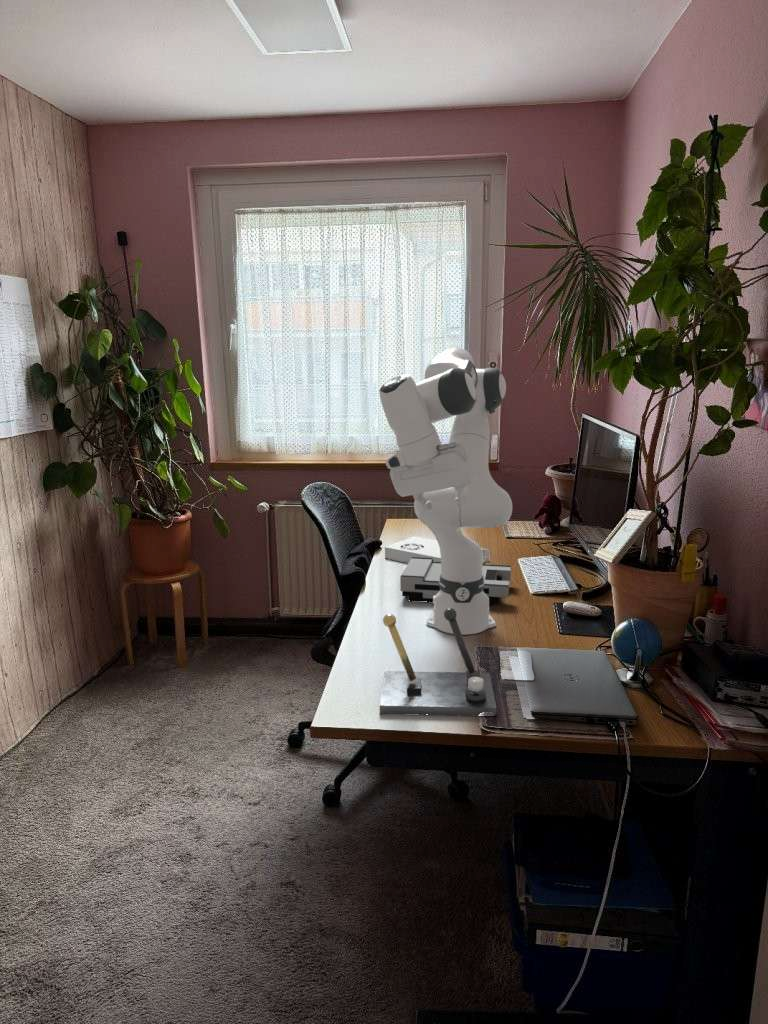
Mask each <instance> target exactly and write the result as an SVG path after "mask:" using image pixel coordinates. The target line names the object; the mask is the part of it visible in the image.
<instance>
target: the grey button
mask: <svg viewBox="0 0 768 1024" xmlns="http://www.w3.org/2000/svg"><path fill="white" fill-rule="evenodd" d="M483 683H484V680H483V679H482V678H480V677H471V678H469V679H468V689H469V690H470V691H474V692H479V691H482V690H483Z"/></svg>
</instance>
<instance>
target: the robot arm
mask: <svg viewBox="0 0 768 1024" xmlns="http://www.w3.org/2000/svg"><path fill="white" fill-rule="evenodd" d="M474 361H475V360H474V358H473V357H472V354H471V353H470V352H468V351H467V350H466V349H465V348H461V347H450V348H448V349H445V350H443V351H441V352H440V353H438V354H436V355H435V356H434V357H433V358H432V359H431V360H430V361H429V363H427V366H426V368H425V371H424V379H423V380H420V381H418V382H415V381H414V378H413V377H412V376H411V375H410V374H408V373H406V374H399V375H397V376H394V377H392V378H391V379H389V380H387V381H386V382H383V384H382V385H381V387H380V388H379V398H380V402H381V406H382V408H383V409H382V410H383V413H384V415H385V418H386V421H387V423H388V425H389V428H390V429H391V430H392V431H393V433H394V435H395V437H396V444H397V447H398V450H396V451H395V453H394V454H392V455H391V456H390V457H388V458H387V459H386V460H385V462H384V463H385V465H386V467H387V469H389V476H390V479H391V482H392V485H393V487H394V490H395V492H396V494H398V495H399V496H400V497H401V498H403V497H410V496H412V498H413V499H414V503H413V507H414V513H415V515H416V517H417V519H418V520H419V521H420V522H421V523H422V524H423V525H424V526H426V527H427V528H428V529H429V530H430V532H431V533H432V534H433V536H434V537H435V540H437V541H438V544H439V547H440V554H441V575H440V579H439V584H440V586H439V588H440V591H439V592H438V593H437V594H436V596H433V608H432V611H431V612H430V615H428V618H427V620H426V625H427V626H429V627H432V628H435V629H438V630H439V631H441V632H445V633H447V634H452V635H454V634H453V631H452V628H451V626H450V623H449V621H448V620H446V619H445V617H444V611H445V610H446V609H447V608H453V609H454V610H455V611H456V613H457V616H456V621H457V623H458V626H459V629H460V631H461V634H462V636H465V635H475V634H479V633H482V632H484V631H485V630H487V629H490V628H494V627H496V625H497V624H496V621H495V619H494V618H493V617H492V616H491V615H490V606H489V597H487V595H486V594H485V593H484V592H483V590H484V577H483V575H482V563H483V552H482V549H483V548H482V547H481V545H480V544H478V543H477V542H476V541H474V540H473V539H471V538H469V537H468V536H466V535H465V534H464V533H463V532H462V530H461V528H477V529H479V528H480V529H489V528H496V527H502V526H505V525H506V524H507V523H508V522H509V520H510V518H511V516H512V513H513V502H512V498H511V496H510V495H509V493H508V492H507V491H506V490H505V488H504V489H503V488H502V486H500V485H498V483H497V482H496V481H495V480H494V479H493V477H492V475H491V473H490V468H489V457H490V456H489V454H490V453H489V451H490V442H491V441H490V438H491V437H490V436H491V435H490V433H491V431H490V423H489V418H488V413H489V415H493V414H494V413H495V412H496V409H498V408H499V407H500V406H501V404H502V403H503V401H504V400H505V396H506V392H507V383H506V379H505V377H504V375H503V372H502V371H501V370H500V369H498V368H495V367H486V368H476V367H475V362H474ZM452 417H454V421H453V424H452V427H451V431H450V436H449V442H448V443H444V444H442V441H441V439H440V436H439V434H438V431H437V430H436V427H435V426H434V423H437V422H441V421H444V420H446V419H449V418H452ZM481 548H482V549H481ZM483 564H484V563H483Z"/></svg>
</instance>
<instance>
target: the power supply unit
mask: <svg viewBox="0 0 768 1024" xmlns="http://www.w3.org/2000/svg"><path fill="white" fill-rule="evenodd" d="M481 549H482V552H483V563H482V564H486V563H487V562H490V550H489V549H487V548H482V547H481ZM412 557H420V558H433V562H441V554H440V547H439V544H438V541H437V539H433V538H432V539H431V538H426V537H420V536H416V535H415V536H414V535H413V536H410V537H408V538H405V539H403V540H400V541H398V542H395V543H392V544H390V545H387V546H384V559H385V558H388V559H387V560H389V559H392V560H391V561H394V560H395V562H399V561H400V563H404V562H406V563H405V564H408V563H409V562H410V560H411V558H412Z"/></svg>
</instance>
